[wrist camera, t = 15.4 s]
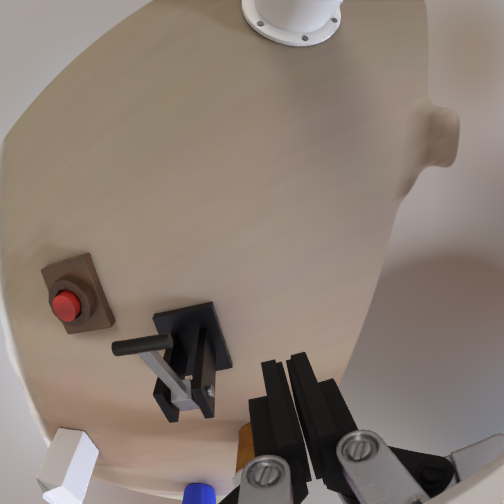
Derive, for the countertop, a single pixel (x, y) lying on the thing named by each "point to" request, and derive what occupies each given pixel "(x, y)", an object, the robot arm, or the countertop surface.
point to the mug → (199, 494)
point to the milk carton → (67, 467)
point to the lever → (159, 366)
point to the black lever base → (192, 355)
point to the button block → (79, 293)
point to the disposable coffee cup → (243, 452)
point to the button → (66, 306)
